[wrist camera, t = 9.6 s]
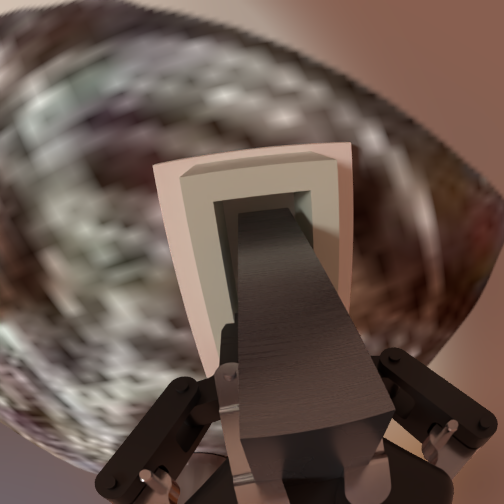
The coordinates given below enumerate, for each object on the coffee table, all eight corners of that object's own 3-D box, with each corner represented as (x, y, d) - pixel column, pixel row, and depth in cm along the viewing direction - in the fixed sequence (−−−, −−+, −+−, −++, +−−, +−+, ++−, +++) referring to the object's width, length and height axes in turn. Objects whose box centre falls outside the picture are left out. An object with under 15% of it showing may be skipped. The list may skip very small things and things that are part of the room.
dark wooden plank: (238, 213, 17) (239, 438, 4) (287, 207, 17) (395, 409, 4) (254, 331, 21) (270, 520, 8) (294, 326, 21) (339, 509, 8)
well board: (337, 384, 30) (351, 428, 24) (217, 400, 30) (215, 446, 24) (346, 141, 19) (387, 149, 14) (156, 163, 20) (123, 178, 14)
